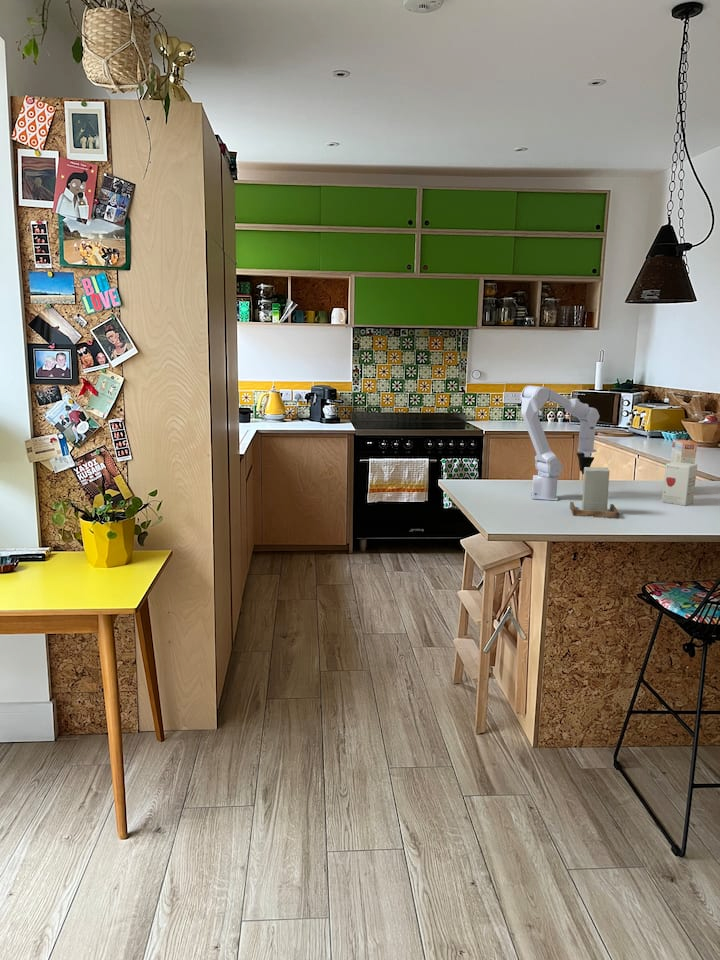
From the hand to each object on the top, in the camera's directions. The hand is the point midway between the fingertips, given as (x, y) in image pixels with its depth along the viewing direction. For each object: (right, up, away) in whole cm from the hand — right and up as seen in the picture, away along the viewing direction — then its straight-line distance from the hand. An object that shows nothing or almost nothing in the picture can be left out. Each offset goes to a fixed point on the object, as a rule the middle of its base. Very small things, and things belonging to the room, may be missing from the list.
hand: (583, 472), depth 277 cm
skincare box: (-4, -14, -25) cm, 29 cm away
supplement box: (+34, -12, -6) cm, 36 cm away
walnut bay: (-5, -14, -26) cm, 31 cm away
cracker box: (+45, -8, +16) cm, 48 cm away
